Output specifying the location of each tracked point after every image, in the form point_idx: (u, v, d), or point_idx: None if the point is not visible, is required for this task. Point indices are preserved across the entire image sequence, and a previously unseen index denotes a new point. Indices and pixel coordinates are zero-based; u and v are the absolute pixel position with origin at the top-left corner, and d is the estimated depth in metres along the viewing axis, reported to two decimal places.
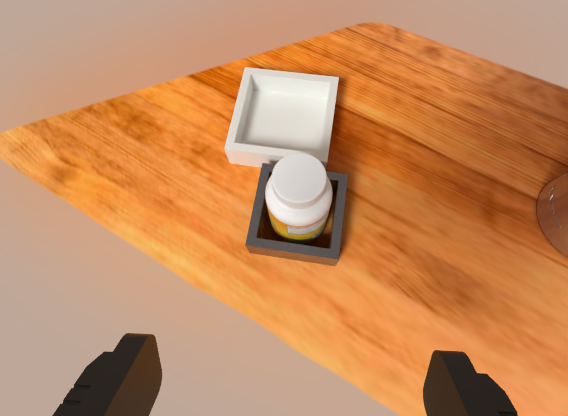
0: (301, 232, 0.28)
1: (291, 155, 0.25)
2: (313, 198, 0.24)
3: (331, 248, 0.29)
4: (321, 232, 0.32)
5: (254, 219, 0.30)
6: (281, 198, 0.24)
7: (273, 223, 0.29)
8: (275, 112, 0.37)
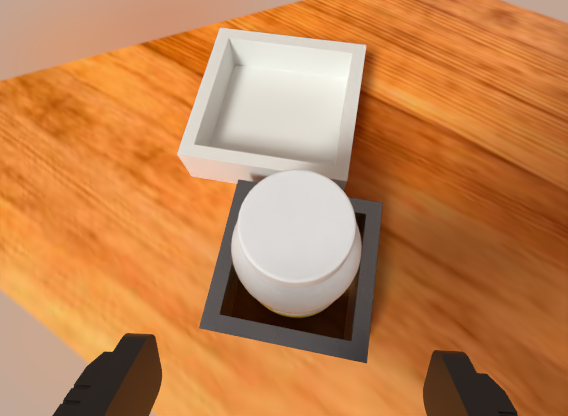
0: (300, 314, 0.15)
1: (281, 175, 0.12)
2: (327, 273, 0.11)
3: (353, 340, 0.16)
4: None
5: (218, 279, 0.17)
6: (255, 268, 0.11)
7: None
8: (265, 99, 0.24)
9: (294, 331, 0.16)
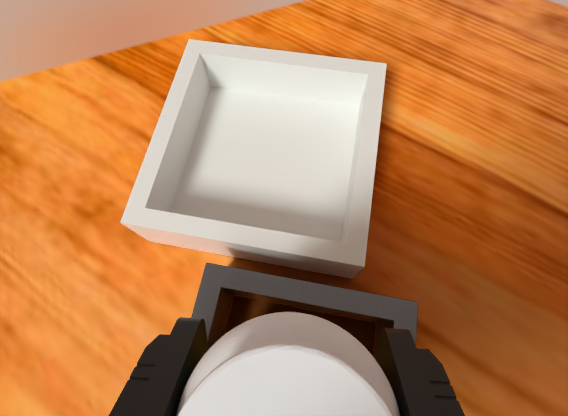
0: None
1: (256, 358, 0.06)
2: None
3: None
4: None
5: None
6: None
7: None
8: (251, 134, 0.18)
9: None
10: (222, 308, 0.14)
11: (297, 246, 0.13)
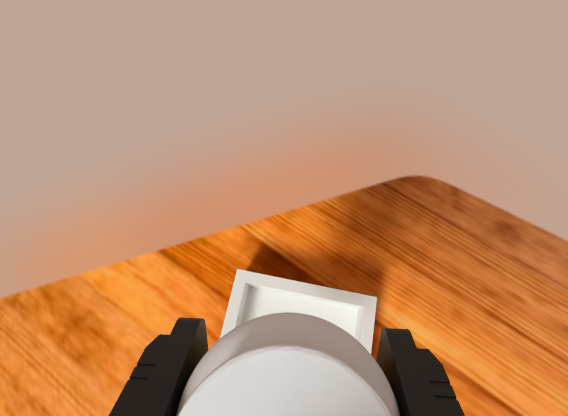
0: None
1: (256, 359, 0.06)
2: None
3: None
4: None
5: None
6: None
7: None
8: None
9: None
10: None
11: None
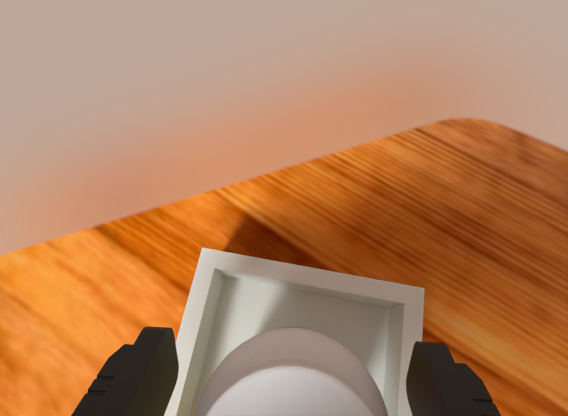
0: None
1: (265, 378, 0.07)
2: None
3: None
4: None
5: None
6: None
7: None
8: None
9: None
10: None
11: None
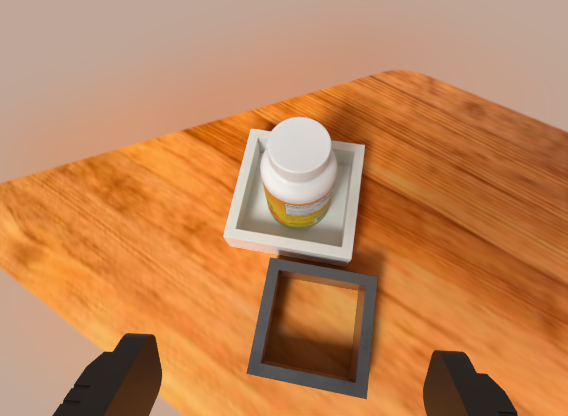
0: (302, 212, 0.25)
1: (290, 120, 0.21)
2: (316, 167, 0.20)
3: (357, 382, 0.23)
4: (324, 216, 0.29)
5: (258, 336, 0.24)
6: (277, 168, 0.21)
7: (270, 203, 0.26)
8: None
9: (315, 375, 0.23)
10: (277, 281, 0.26)
11: (316, 249, 0.26)
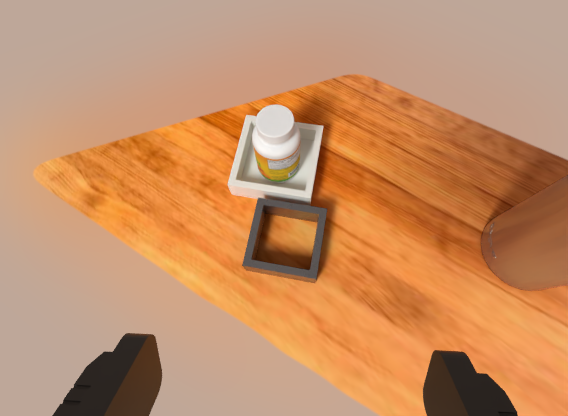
0: (278, 167, 0.38)
1: (269, 106, 0.35)
2: (284, 134, 0.34)
3: (310, 269, 0.36)
4: (295, 173, 0.42)
5: (250, 244, 0.38)
6: (262, 135, 0.34)
7: (258, 162, 0.40)
8: None
9: (284, 266, 0.37)
10: (263, 213, 0.40)
11: (288, 192, 0.40)
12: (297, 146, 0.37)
